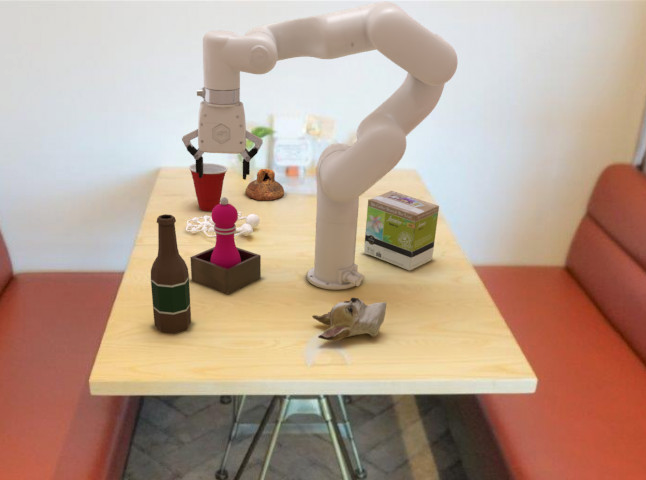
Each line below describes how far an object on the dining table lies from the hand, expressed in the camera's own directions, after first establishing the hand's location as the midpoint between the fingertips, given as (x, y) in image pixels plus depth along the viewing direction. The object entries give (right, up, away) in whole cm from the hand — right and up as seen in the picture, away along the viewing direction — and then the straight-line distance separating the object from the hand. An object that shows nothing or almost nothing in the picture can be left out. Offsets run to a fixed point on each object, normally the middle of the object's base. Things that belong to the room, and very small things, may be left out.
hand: (222, 176), depth 177 cm
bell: (+7, +13, +65) cm, 67 cm away
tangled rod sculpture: (-3, -5, +38) cm, 39 cm away
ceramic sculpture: (+27, -36, -8) cm, 46 cm away
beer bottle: (-10, -34, -7) cm, 36 cm away
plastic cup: (-9, +6, +54) cm, 56 cm away
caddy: (0, -21, +13) cm, 25 cm away
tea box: (+42, -13, +27) cm, 52 cm away
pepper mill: (0, -21, +13) cm, 25 cm away
